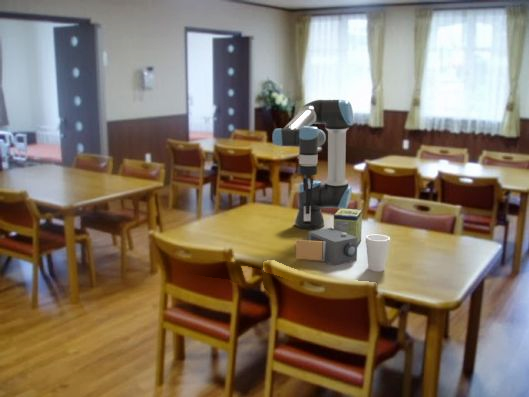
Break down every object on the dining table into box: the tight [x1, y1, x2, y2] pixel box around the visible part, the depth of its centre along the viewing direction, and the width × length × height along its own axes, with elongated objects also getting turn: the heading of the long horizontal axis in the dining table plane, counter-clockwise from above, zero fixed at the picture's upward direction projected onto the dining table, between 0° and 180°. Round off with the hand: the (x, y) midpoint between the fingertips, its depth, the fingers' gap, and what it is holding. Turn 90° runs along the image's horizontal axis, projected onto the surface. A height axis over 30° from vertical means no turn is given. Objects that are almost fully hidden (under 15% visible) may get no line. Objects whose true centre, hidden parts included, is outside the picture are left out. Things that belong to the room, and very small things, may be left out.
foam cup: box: [365, 233, 391, 272], centre depth 215 cm, size 10×9×13 cm
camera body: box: [307, 227, 358, 266], centre depth 229 cm, size 12×20×11 cm, turn 32°
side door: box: [295, 239, 326, 262], centre depth 224 cm, size 1×12×8 cm, turn 77°
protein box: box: [333, 207, 363, 248], centre depth 246 cm, size 10×16×16 cm
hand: (307, 220), depth 225 cm, fingers closed
